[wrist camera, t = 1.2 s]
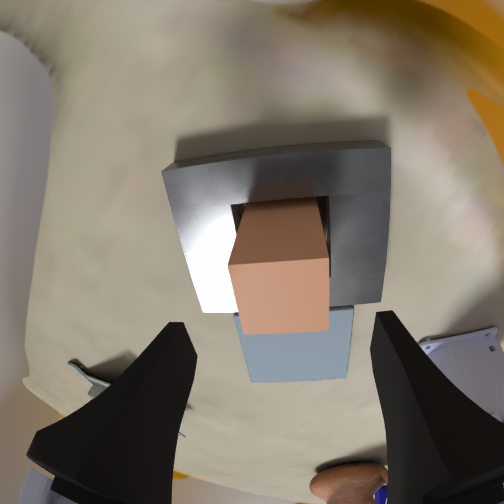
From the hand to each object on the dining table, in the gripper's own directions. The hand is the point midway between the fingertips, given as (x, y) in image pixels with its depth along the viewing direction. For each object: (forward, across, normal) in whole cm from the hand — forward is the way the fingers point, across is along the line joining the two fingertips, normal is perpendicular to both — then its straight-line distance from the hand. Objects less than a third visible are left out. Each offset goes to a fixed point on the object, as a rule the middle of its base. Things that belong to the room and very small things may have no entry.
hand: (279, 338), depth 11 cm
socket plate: (+9, 0, 0) cm, 9 cm away
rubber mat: (+9, 0, +12) cm, 15 cm away
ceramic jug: (+9, -9, +49) cm, 51 cm away
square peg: (+9, 0, 0) cm, 9 cm away
